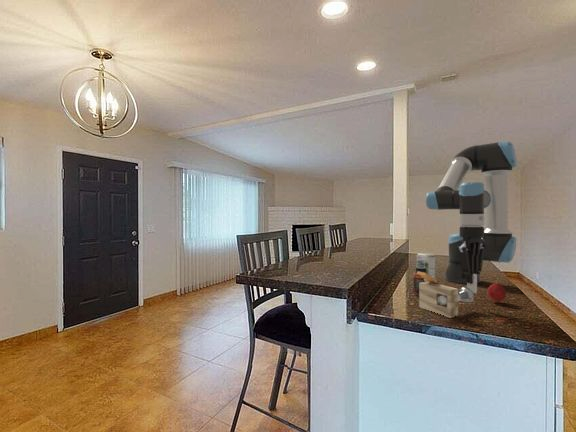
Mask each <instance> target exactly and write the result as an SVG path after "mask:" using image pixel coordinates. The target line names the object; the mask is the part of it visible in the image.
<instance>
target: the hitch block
mask: <svg viewBox="0 0 576 432" xmlns="http://www.w3.org/2000/svg"><path fill="white" fill-rule="evenodd" d="M458 291H459V288H455V287H451V286H448V285H443V284H440V283H439V284H436V283H432V282H427V281H426V282H421V283H419V296H418V298H419V299H418V300H419V302H418V303H419V305H418V306H419V307H420V309H422V310H425V309H426V311H428V310H429V312H431V311H432V313H434V312H435V313H434V314H437V313H438V314H437V315H440V314H441V316H443V315H444V316H443V317H446V318H449V319H451V318H455V316H456V317H458V316H459V301H458ZM441 295H446V296H447V304H445V305H441V304H440V303H439V302H438V297H439V296H441Z"/></svg>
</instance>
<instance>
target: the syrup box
mask: <svg viewBox="0 0 576 432" xmlns="http://www.w3.org/2000/svg"><path fill="white" fill-rule="evenodd" d="M416 267H426V272H427V273H428V274H429V275H430V276H431V277H433V278H434V279H436V277H435V276H436V254H433V253H426V252H419V253H416Z"/></svg>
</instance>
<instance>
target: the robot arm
mask: <svg viewBox="0 0 576 432" xmlns="http://www.w3.org/2000/svg"><path fill="white" fill-rule="evenodd" d="M517 165H518V164H517V155H516V150H515V147H514V144H513V142H511V141H498V142H492V143H491V142H490V143H485V144H479V145H472V146H469V147H466V148H464V149H462V150H460V152H458V153H457V154H455V155H454V156H453V158H451V160H450V162H449V165H448V170H447V172H446V174H445V175H444V177H443V179H442V180H441V182H440V184H439V185H438V187H437V189H436V191H435V190H433V191H429V192H427V193H426V196H425V204H426V207H427V209H428V210H437V211H439V210H459V217H458V218H459V219H458V221H459V224H458V225H460V226H459V232H458V233H452V234H450V235H449V236H448V265H447V268H446V271H445V273H444V279H445V280H446V281H448V282H452V283H454V284H455V283H457V284H462V285H463V284H466V288H469V289H470V290H471V291H472V292H473V294H477V293H478V284H479V283H481V281H482V279H481V278H482V277H481V272H482V270H483V269H482V268H483V262H492V263H493V262H494V263H495V262H496V263H498V264H499V263H500V264H501V263H511V262H512V261H513V259H514V257H515V252H516V247H517V238H516V237H515V236H513V232H512V231H511V230H509V224H508V223H509V201H508V200H509V176H510V174H511V173H512V172H513V168H516V167H517ZM473 171H481V175H483V176H484V177H485V179H484V182H485V183H483V182H480V181H473V182H472V181H471V182H470V181H469V182H464V179H465V178H466V176H467V175H468V174H469V173H471V172H473Z"/></svg>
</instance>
